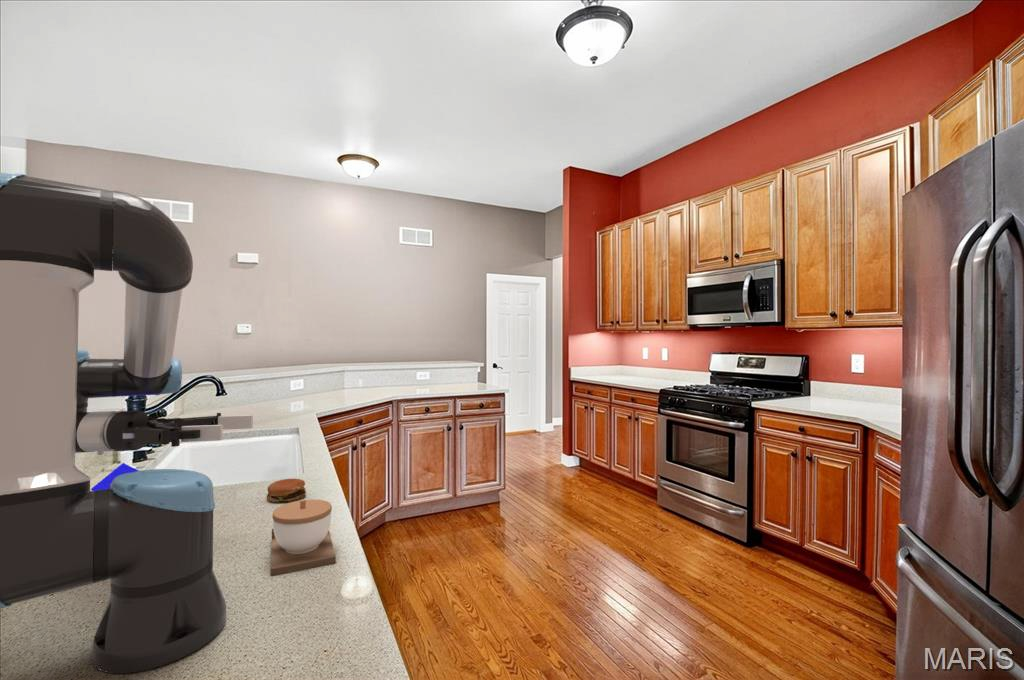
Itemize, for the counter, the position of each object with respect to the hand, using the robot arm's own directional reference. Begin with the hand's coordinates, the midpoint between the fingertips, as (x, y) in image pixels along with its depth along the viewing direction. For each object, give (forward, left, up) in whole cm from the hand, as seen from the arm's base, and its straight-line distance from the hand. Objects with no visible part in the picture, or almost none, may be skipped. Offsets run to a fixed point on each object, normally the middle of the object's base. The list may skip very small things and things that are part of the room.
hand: (238, 426), depth 90 cm
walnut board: (-1, -13, -25) cm, 28 cm away
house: (+23, +31, -26) cm, 46 cm away
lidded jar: (-1, -13, -24) cm, 27 cm away
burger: (+33, +1, -26) cm, 42 cm away
